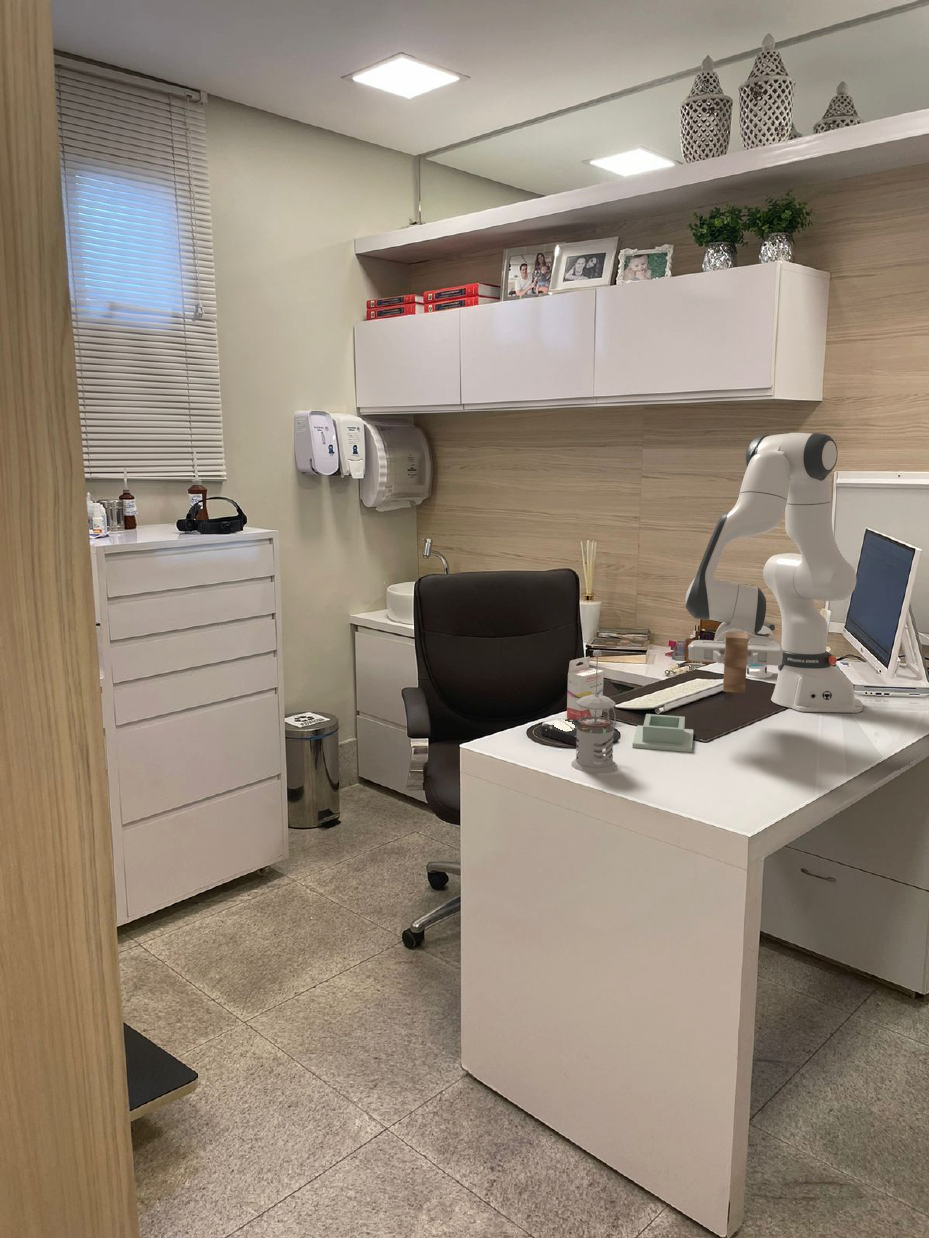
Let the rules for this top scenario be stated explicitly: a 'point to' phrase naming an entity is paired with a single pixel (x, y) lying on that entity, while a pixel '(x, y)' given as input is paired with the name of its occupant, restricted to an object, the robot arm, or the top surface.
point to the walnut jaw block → (735, 662)
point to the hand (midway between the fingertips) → (735, 660)
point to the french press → (595, 734)
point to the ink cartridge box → (582, 687)
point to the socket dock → (663, 734)
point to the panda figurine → (756, 669)
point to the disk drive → (568, 732)
